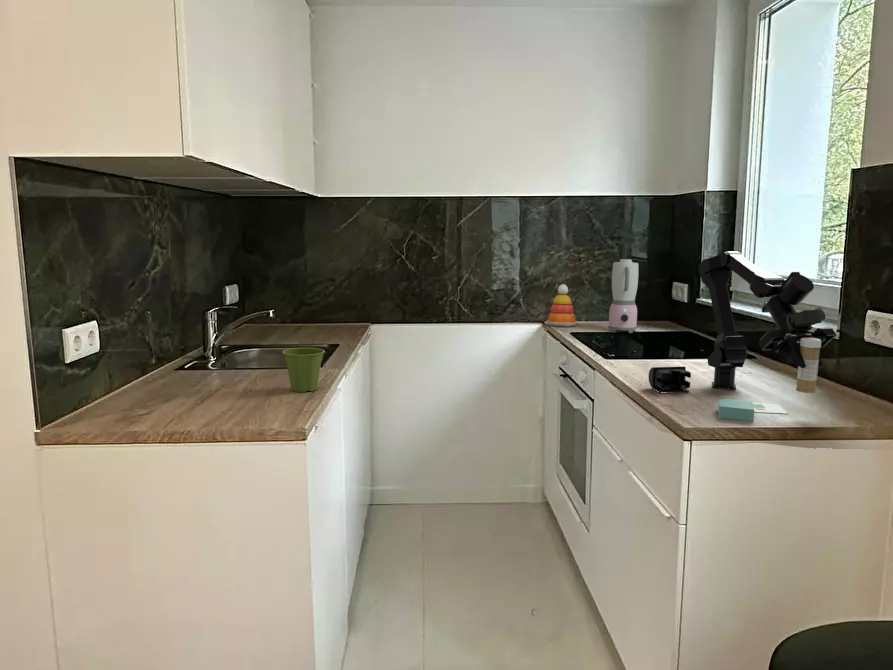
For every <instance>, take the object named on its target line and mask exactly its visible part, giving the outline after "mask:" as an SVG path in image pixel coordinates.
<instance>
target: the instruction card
mask: <svg viewBox="0 0 893 670" xmlns="http://www.w3.org/2000/svg"><path fill="white" fill-rule="evenodd" d="M753 406H754V413H759V414H762V413H763V414H778V415H788V414H789V413H788V412H787V411H786V410H785V409H784V408H783V407H782V406H781V405H780V404H776V403H761V402H759V403H758V402H756V403H755V402H753Z"/></svg>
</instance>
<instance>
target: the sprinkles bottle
mask: <svg viewBox="0 0 893 670" xmlns="http://www.w3.org/2000/svg"><path fill="white" fill-rule="evenodd" d="M799 346H800V349H799V351H800V353H801V356H802V358H803V360H804V362H805V365H806V367H805V368H801V367H799V366H798V365H797V375H796V376H797V377H796V378H797V381H796V387H795V391H797V392H799V393H804V394H815V393H816V392H817V390H816V389H817V388H816V386H817V380H818V373H819V367H818V364H819V350H820V347H821V340H820V339H817V338H801V340H800V342H799Z"/></svg>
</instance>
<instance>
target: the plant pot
mask: <svg viewBox="0 0 893 670" xmlns="http://www.w3.org/2000/svg"><path fill="white" fill-rule="evenodd" d="M325 352H326V351H325V350H324V349H321V348H317V347H295V348H294V347H293V348H292V347H291V348H288V349H284V350H282V354H283V355H284V359H285V362H286V367H287V372H288V378H289V383H290V388H291V389H290V390H292V391H293V392H297V393H305V392H308V391H310V392H314V391H316V390H317V389H318V385H319V378H320V372H321V365H322V361H323V356H324V354H325Z"/></svg>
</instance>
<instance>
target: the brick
mask: <svg viewBox="0 0 893 670" xmlns="http://www.w3.org/2000/svg"><path fill="white" fill-rule="evenodd" d="M753 403H754V402H753V401H746V400H736V399H725V398H718V405H717V406H718V407H717V413H718V414H717V415H718V417H717V418H718V419H723V420H724V419H725V420H735V421H742V422H744V421H745V422H754V420H755V412H754V406H753Z"/></svg>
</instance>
